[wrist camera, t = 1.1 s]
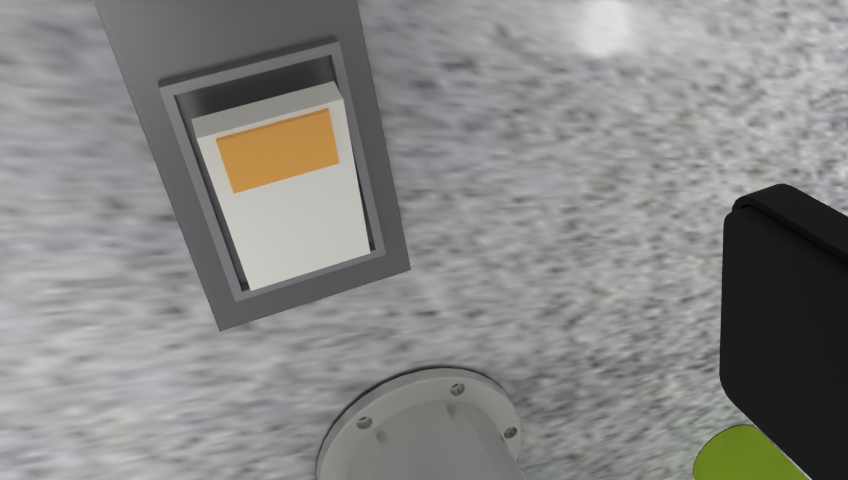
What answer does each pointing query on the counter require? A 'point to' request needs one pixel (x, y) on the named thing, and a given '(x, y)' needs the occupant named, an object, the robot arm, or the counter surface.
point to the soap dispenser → (744, 458)
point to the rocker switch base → (239, 85)
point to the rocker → (286, 183)
